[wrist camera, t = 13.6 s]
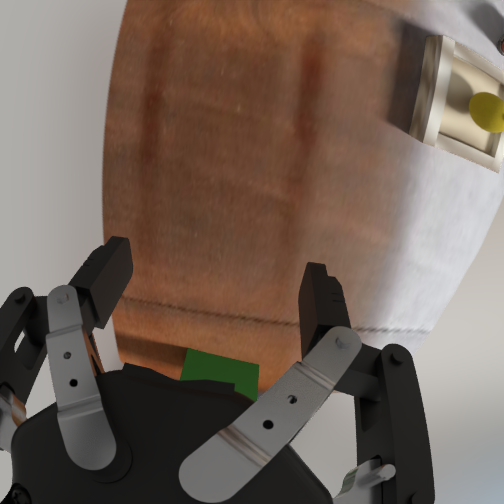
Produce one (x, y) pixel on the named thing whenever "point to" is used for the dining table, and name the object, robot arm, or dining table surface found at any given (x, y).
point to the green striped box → (222, 371)
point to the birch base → (456, 102)
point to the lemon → (487, 111)
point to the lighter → (501, 45)
